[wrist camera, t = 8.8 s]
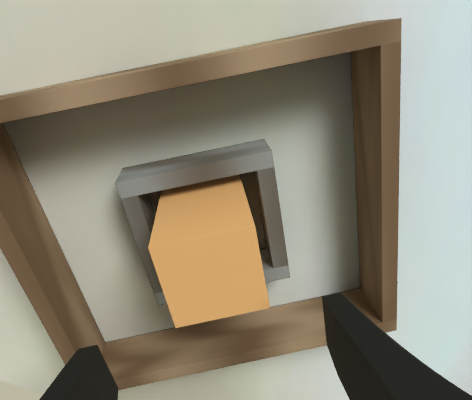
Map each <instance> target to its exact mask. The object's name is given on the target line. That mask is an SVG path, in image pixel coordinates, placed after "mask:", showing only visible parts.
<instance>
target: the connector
mask: <svg viewBox="0 0 472 400" xmlns="http://www.w3.org/2000/svg"><path fill="white" fill-rule="evenodd" d="M148 249H149V252H150V255H151V258H152V261H153V264H154V267H155V269H156V272H157V275H158V278H159V281H160V284H161V287H162V290H163V293H164V296H165V299H166V302H167V305H168V308H169V310H170V313H171V316H172V319H173V322H174V325H175V328H179V327H183V326H188V325H193V324H198V323H202V322H207V321H212V320H216V319H221V318H226V317H231V316H235V315H240V314H245V313H249V312H254V311H259V310H264V309H268V308H270V305H269V299H268V294H267V288H266V283H265V277H264V272H263V266H262V261H261V255H260V250H259V244H258V239H257V233H256V228H255V224H254V220H253V217H252V214H251V211H250V207H249V204H248V201H247V197H246V194H245V191H244V188H243V184H242V181H241V178H240V175H239V174H238V175H233V176H229V177H224V178H219V179H214V180H209V181H205V182H200V183H195V184H190V185H185V186H180V187H176V188H171V189H166V190H161V194H160V199H159V203H158V207H157V212H156V216H155V220H154V225H153V229H152V233H151V238H150V242H149V247H148Z"/></svg>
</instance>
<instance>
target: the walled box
mask: <svg viewBox="0 0 472 400" xmlns="http://www.w3.org/2000/svg"><path fill="white" fill-rule="evenodd" d="M346 52H351V69H352V94H353V119H354V144H355V169H356V194H357V219H358V244H359V269H360V288H359V289H354V290H350V291H345V292H340V293H342V294H344V295H345V296H346V297H347V298H348V299H349V300H350V301H351V302H352V303H353V304H354V305H355V306H356V307H357V308H358V309H359V310H360V311H361V312H362V313H364V314H365V315H366V316H367V317H368V318H369V319H370V320H371V321H372V322H373V323H375V324H376V325H377V326H378V327H379V328H380V329H381V330H383V331H384V332H390V331H395V330H396V323H397V261H398V198H399V135H400V73H401V18H399V19H388V20H376V21H366V22H361V23H356V24H351V25H346V26H341V27H337V28H332V29H327V30H322V31H317V32H312V33H307V34H302V35H297V36H292V37H287V38H282V39H278V40H273V41H268V42H263V43H258V44H253V45H248V46H243V47H238V48H233V49H228V50H223V51H218V52H214V53H209V54H204V55H199V56H194V57H189V58H184V59H179V60H174V61H169V62H164V63H159V64H155V65H150V66H145V67H140V68H135V69H130V70H125V71H120V72H115V73H110V74H105V75H100V76H96V77H91V78H86V79H81V80H76V81H71V82H66V83H61V84H56V85H51V86H46V87H41V88H36V89H32V90H27V91H22V92H17V93H12V94H7V95H2V96H0V248H1V250H2V252H3V253H4V255H5V257H6V259H7V261H8V262H9V264H10V266H11V268H12V270H13V271H14V273H15V275H16V277H17V279H18V280H19V282H20V284H21V286H22V288H23V289H24V291H25V293H26V295H27V297H28V298H29V300H30V302H31V304H32V306H33V307H34V309H35V311H36V313H37V315H38V316H39V318H40V320H41V322H42V324H43V325H44V327H45V329H46V331H47V333H48V334H49V336H50V338H51V340H52V342H53V343H54V345H55V347H56V349H57V351H58V352H59V354H60V356H61V358H62V360H63V361H64V363H65V365H66V364H67V363H68V361H69V360H70V359H71V357H72V356H73V355H74V353H75V352H76V351H77V350H78V349H79V348H84V347H89V346H93V345H98V347H99V349H100V351H101V353H102V355H103V357H104V360H105V362H106V364H107V366H108V368H109V370H110V372H111V374H112V376H113V378H114V380H115V382H116V384H117V386H118V390H120V389H125V388H129V387H134V386H139V385H143V384H148V383H153V382H157V381H162V380H167V379H171V378H176V377H181V376H185V375H190V374H195V373H199V372H204V371H209V370H213V369H218V368H223V367H227V366H232V365H237V364H241V363H246V362H250V361H255V360H260V359H264V358H269V357H274V356H278V355H283V354H288V353H292V352H297V351H302V350H306V349H311V348H316V347H320V346H325V345H327V343H326V333H325V323H324V313H323V303H322V296H321V297H317V298H312V299H307V300H303V301H298V302H293V303H289V304H284V305H279V306H274V307H270V308H268V309H264V310H259V311H254V312H249V313H245V314H240V315H235V316H231V317H226V318H221V319H216V320H212V321H207V322H202V323H198V324H193V325H188V326H183V327H179V328H171V329H167V330H162V331H157V332H152V333H148V334H143V335H138V336H134V337H129V338H124V339H120V340H115V341H110V342H105V341H104V339H103V337H102V335H101V333H100V330H99V328H98V326H97V324H96V322H95V320H94V318H93V316H92V313H91V311H90V309H89V307H88V305H87V303H86V301H85V298H84V296H83V294H82V292H81V290H80V288H79V286H78V283H77V281H76V279H75V277H74V275H73V273H72V271H71V269H70V266H69V264H68V262H67V260H66V258H65V256H64V254H63V251H62V249H61V247H60V245H59V243H58V241H57V239H56V237H55V234H54V232H53V230H52V228H51V226H50V224H49V222H48V219H47V217H46V215H45V213H44V211H43V209H42V207H41V204H40V202H39V200H38V198H37V196H36V194H35V192H34V190H33V187H32V185H31V183H30V181H29V179H28V177H27V175H26V172H25V170H24V168H23V166H22V164H21V162H20V160H19V158H18V155H17V153H16V151H15V149H14V147H13V145H12V143H11V140H10V138H9V136H8V134H7V132H6V130H5V128H4V125H3V122H8V121H13V120H18V119H23V118H28V117H33V116H38V115H42V114H47V113H52V112H57V111H62V110H67V109H72V108H77V107H82V106H86V105H91V104H96V103H101V102H106V101H111V100H116V99H121V98H126V97H131V96H135V95H140V94H145V93H150V92H155V91H160V90H165V89H170V88H175V87H179V86H184V85H189V84H194V83H199V82H204V81H209V80H214V79H219V78H224V77H228V76H233V75H238V74H243V73H248V72H253V71H258V70H263V69H268V68H272V67H277V66H282V65H287V64H292V63H297V62H302V61H307V60H312V59H317V58H321V57H326V56H331V55H336V54H341V53H346ZM253 171H254V176H255V182H256V188H257V194H258V200H259V205H260V211H261V217H262V223H263V229H264V235H265V240H266V246H267V248H265V249H260V255H261V261H262V266H263V272H264V277H265V283H266V282H271V281H275V280H280V279H285V278H290V273H289V266H288V259H287V252H286V246H285V239H284V232H283V225H282V218H281V211H280V204H279V197H278V190H277V183H276V177H275V170H274V163H273V156H272V150H271V149H270V147H269V146H268V144H267V143H266V141H265V139H262V140H257V141H252V142H248V143H243V144H238V145H233V146H228V147H223V148H219V149H214V150H209V151H204V152H199V153H194V154H190V155H185V156H180V157H175V158H170V159H165V160H161V161H156V162H151V163H146V164H141V165H136V166H132V167H127V168H123V169H122V171H121V173H120V175H119V177H118V178H117V180H116V182H115V185H116V188H117V191H118V193H119V196H120V199H121V202H122V205H123V207H124V210H125V213H126V216H127V219H128V221H129V224H130V227H131V230H132V233H133V235H134V238H135V241H136V244H137V247H138V249H139V252H140V255H141V258H142V261H143V263H144V266H145V269H146V272H147V275H148V277H149V280H150V283H151V286H152V289H153V291H154V294H155V297H156V300H157V302H158V305H162V304H167V302H166V299H165V296H164V293H163V290H162V287H161V284H160V281H159V278H158V275H157V272H156V269H155V267H154V264H153V261H152V258H151V255H150V252H149V249H148V247H149V242H150V238H151V233H152V229H153V225H154V220H155V214H154V211H153V208H152V204H151V201H150V198H149V195H148V193H152V192H156V191H161V190H166V189H171V188H176V187H180V186H185V185H190V184H195V183H200V182H205V181H209V180H214V179H219V178H224V177H229V176H233V175H238V174H243V173H248V172H253ZM326 296H327V295H326Z"/></svg>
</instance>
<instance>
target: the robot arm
mask: <svg viewBox="0 0 472 400" xmlns="http://www.w3.org/2000/svg"><path fill="white" fill-rule="evenodd" d="M322 303H323V313H324V323H325V333H326V343H327V346H328V349H329V352H330V354H331V357H332V360H333V363H334V366H335V368H336V371H337V374H338V376H339V378H340V380H341V382H342V385H343V387H344V389H345V391H346V393H347V395H348V397H349V399H350V400H472V396H471V395H469V394H468V393H466V392H465V391H463V390H462V389H460V388H458V387H457V386H455V385H454V384H452V383H451V382H449V381H448V380H446V379H445V378H443V377H442V376H441V375H439V374H438V373H436V372H435V371H433V370H432V369H431V368H429V367H428V366H427V365H425V364H424V363H422V362H421V361H420V360H419V359H417V358H416V357H415V356H413V355H412V354H411V353H409V352H408V351H407V350H406V349H404V348H403V347H402V346H401V345H399V344H398V343H397V342H396V341H394V340H393V339H392V338H391V337H390V336H389V335H387V334H386V333H385V332H384V331H383V330H381V329H380V328H379V327H378V326H377V325H376V324H375V323H373V322H372V321H371V320H370V319H369V318H368V317H367V316H366V315H365V314H364V313H362V312H361V311H360V310H359V309H358V308H357V307H356V306H355V305H354V304H353V303H352V302H351V301H350V300H349V299H348V298H347V297H346V296H345V295H344V294H342V293H336V294H331V295H327V296H322ZM117 398H118V386H117V384H116V382H115V380H114V378H113V376H112V374H111V372H110V370H109V368H108V366H107V364H106V362H105V360H104V357H103V355H102V353H101V351H100V349H99V347H98V345H93V346H89V347H84V348H79V349H78V350H77V351H76V352H75V353H74V355H73V356H72V357H71V359H70V360H69V361H68V363H67V364H66V365H65V367H64V368H63V369H62V371H61V372H60V373H59V375H58V376H57V377H56V379H55V380H54V381H53V383H52V384H51V385H50V387H49V388H48V389H47V391H46V392H45V393H44V394H43V396H42V397H41V398H40V400H117Z"/></svg>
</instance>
